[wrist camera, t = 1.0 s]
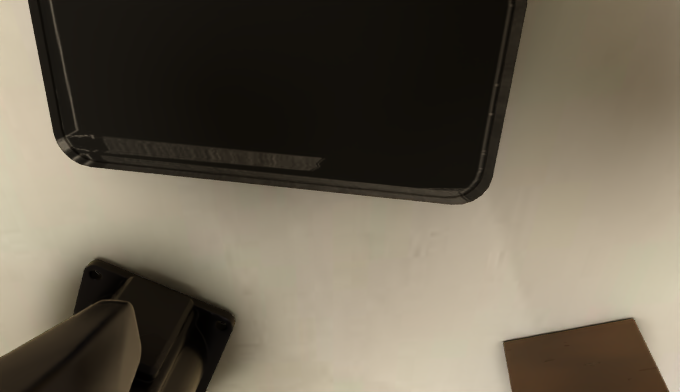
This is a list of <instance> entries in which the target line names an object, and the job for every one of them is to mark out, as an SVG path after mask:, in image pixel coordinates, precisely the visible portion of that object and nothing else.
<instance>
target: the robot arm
mask: <svg viewBox="0 0 680 392" xmlns="http://www.w3.org/2000/svg"><path fill="white" fill-rule="evenodd" d="M95 271H98V272H99V273H100V274H101V275H100V274H98V273H96V272H95ZM219 321H222V322H224V323H226V324H221V323H220V322H219ZM234 325H235V318H234V316H233V315H232V314H231V313H229V312H227V311H225V310H222V309H220V308H218V307H215V306H213V305H210V304H208V303H205V302H203V301H200V300H198V299H195V298H193V297H190V296H188V295H185V294H183V293H180V292H178V291H176V290H173V289H171V288H168V287H166V286H163V285H161V284H158V283H156V282H153V281H151V280H148V279H146V278H143V277H141V276H138V275H136V274H134V273H131V272H129V271H126V270H124V269H121V268H119V267H116V266H114V265H111V264H109V263H106V262H104V261H101V260H93V261H92V262H90V263H89V264H88V266H87V267H86V268H85V270H84V273H83V277H82V281H81V285H80V289H79V293H78V297H77V301H76V305H75V309H74V313H73V316H72V317H70V318H68V319H67V320H65V321H63V322H61V323H60V324H58V325H56V326H54V327H53V328H51V329H49V330H47V331H46V332H44V333H42V334H40V335H39V336H37V337H35V338H33V339H32V340H30V341H28V342H26V343H25V344H23V345H21V346H19V347H18V348H16V349H14V350H12V351H11V352H9V353H7V354H5V355H4V356H2V357H0V392H205V391H206V389H207V387H208V385H209V382H210V380H211V378H212V376H213V373H214V371H215V369H216V366H217V364H218V362H219V360H220V357H221V355H222V353H223V351H224V348H225V346H226V344H227V342H228V339H229V337H230V335H231V332H232V330H233V328H234Z"/></svg>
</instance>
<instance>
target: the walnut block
mask: <svg viewBox="0 0 680 392" xmlns="http://www.w3.org/2000/svg"><path fill="white" fill-rule="evenodd" d="M503 345H504V350H505V356H506V362H507V367H508V373H509V378H510V384H511V389H512V392H669V390H668V388H667V386H666V384H665V382H664V380H663V378H662V376H661V373H660V371H659V369H658V367H657V365H656V363H655V361H654V359H653V357H652V355H651V353H650V351H649V349H648V347H647V345H646V343H645V341H644V339H643V337H642V335H641V333H640V331H639V328H638V326H637V324H636V322H635V320H634V319H627V320H621V321H616V322H610V323H605V324H599V325H594V326H589V327H583V328H578V329H572V330H567V331H561V332H556V333H550V334H545V335H540V336H534V337H529V338H523V339H518V340H512V341H507V342H504V343H503Z"/></svg>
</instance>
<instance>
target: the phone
mask: <svg viewBox="0 0 680 392" xmlns="http://www.w3.org/2000/svg"><path fill="white" fill-rule="evenodd" d="M28 3H29V9H30V14H31V19H32V24H33V29H34V34H35V40H36V45H37V50H38V55H39V60H40V65H41V71H42V76H43V81H44V86H45V91H46V96H47V102H48V107H49V112H50V117H51V122H52V127H53V133H54V136H55V139H56V141H57V144H58V145H59V147H60V148H61V150H62V151H63V152H64V153H65V154H66V155H67V156H68V157H69V158H70V159H72V160H73V161H75V162H77V163H79V164H81V165H85V166H89V167H96V168H106V169H115V170H125V171H134V172H144V173H154V174H163V175H173V176H183V177H192V178H202V179H211V180H221V181H230V182H240V183H250V184H259V185H269V186H278V187H288V188H297V189H307V190H317V191H326V192H336V193H345V194H355V195H365V196H374V197H384V198H393V199H403V200H412V201H422V202H431V203H441V204H450V205H455V204H465V203H468V202H471V201H474V200H475V199H477V198H478V197H480V196H481V195H483V193H484V192H485V191H486V190H487V188H488V187H489V185H490V183H491V180H492V177H493V173H494V168H495V163H496V158H497V153H498V148H499V143H500V138H501V133H502V128H503V122H504V117H505V112H506V107H507V102H508V97H509V92H510V87H511V82H512V77H513V72H514V67H515V62H516V57H517V52H518V47H519V42H520V37H521V32H522V27H523V22H524V17H525V12H526V7H527V0H28Z"/></svg>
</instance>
